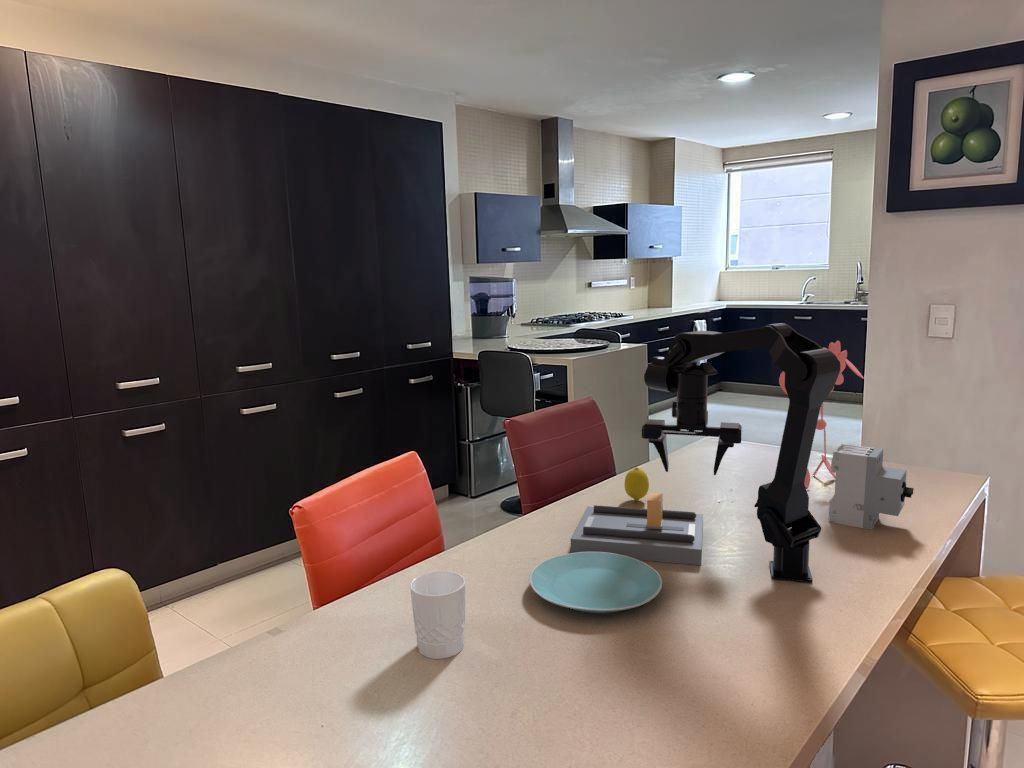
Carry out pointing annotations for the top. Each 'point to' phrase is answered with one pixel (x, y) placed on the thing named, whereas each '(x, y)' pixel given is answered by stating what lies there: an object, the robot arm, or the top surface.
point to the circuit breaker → (865, 487)
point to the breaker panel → (638, 546)
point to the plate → (595, 581)
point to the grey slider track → (640, 533)
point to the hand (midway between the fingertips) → (690, 473)
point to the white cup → (439, 613)
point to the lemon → (636, 483)
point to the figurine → (821, 423)
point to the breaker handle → (654, 511)
